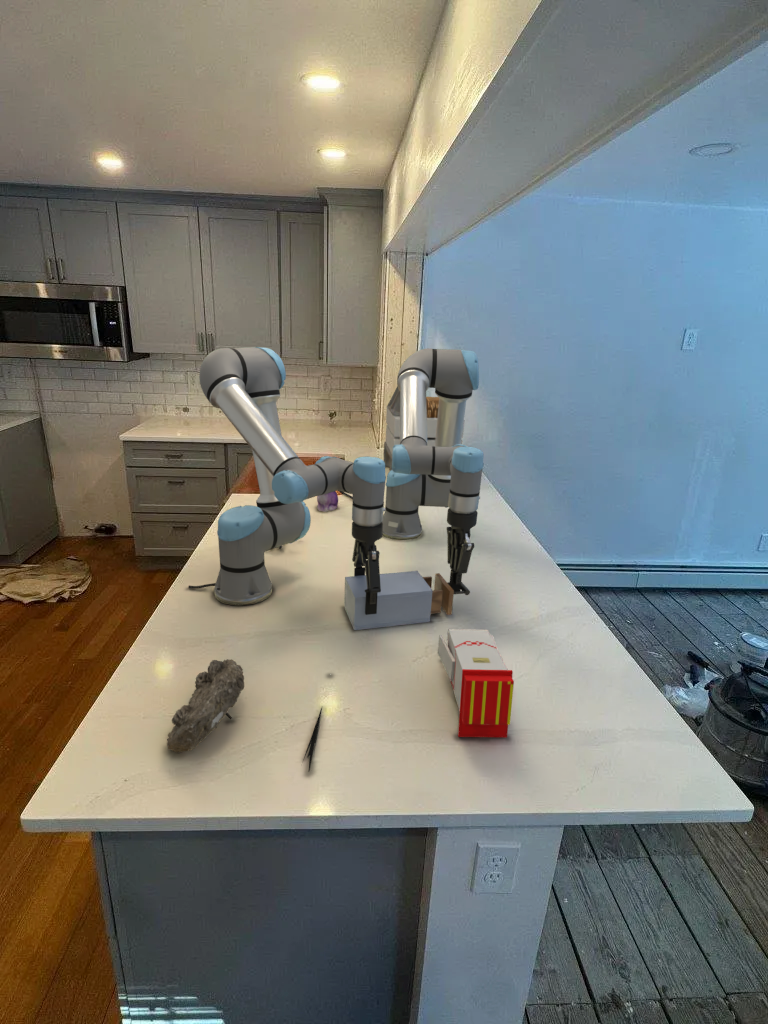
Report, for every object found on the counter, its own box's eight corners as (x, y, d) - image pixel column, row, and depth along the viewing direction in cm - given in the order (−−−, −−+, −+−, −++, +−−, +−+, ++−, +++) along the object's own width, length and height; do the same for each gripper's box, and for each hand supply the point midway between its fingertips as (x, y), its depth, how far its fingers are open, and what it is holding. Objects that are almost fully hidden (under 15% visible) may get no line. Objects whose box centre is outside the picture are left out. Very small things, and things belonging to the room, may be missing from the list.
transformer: (382, 463, 289) (386, 382, 275) (445, 464, 293) (451, 384, 279) (390, 482, 257) (394, 392, 243) (460, 483, 261) (468, 394, 247)
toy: (488, 613, 130) (523, 677, 101) (484, 667, 133) (517, 744, 104) (435, 612, 130) (455, 676, 101) (432, 666, 133) (451, 743, 103)
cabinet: (415, 600, 155) (417, 570, 152) (429, 621, 145) (432, 590, 142) (344, 607, 149) (344, 576, 146) (354, 630, 139) (355, 597, 136)
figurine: (320, 513, 215) (320, 475, 210) (311, 505, 224) (311, 468, 219) (343, 510, 219) (344, 473, 214) (333, 502, 228) (333, 466, 223)
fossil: (192, 660, 117) (244, 628, 112) (224, 691, 120) (276, 661, 115) (142, 746, 98) (202, 712, 93) (182, 779, 101) (242, 748, 96)
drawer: (456, 594, 157) (458, 571, 155) (471, 612, 148) (474, 588, 146) (372, 602, 151) (373, 578, 148) (382, 622, 141) (383, 597, 139)
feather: (331, 679, 122) (336, 673, 122) (307, 777, 96) (313, 769, 95) (324, 675, 122) (329, 669, 121) (298, 772, 95) (304, 764, 95)
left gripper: (397, 539, 127) (392, 624, 134) (370, 504, 148) (367, 579, 156) (364, 541, 125) (361, 627, 132) (342, 506, 146) (340, 581, 154)
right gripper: (487, 517, 138) (477, 603, 146) (466, 500, 150) (458, 580, 157) (458, 518, 136) (450, 606, 144) (439, 501, 148) (432, 582, 156)
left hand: (364, 601), depth 144 cm, fingers closed on cabinet, 11 cm apart
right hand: (454, 592), depth 151 cm, fingers closed
